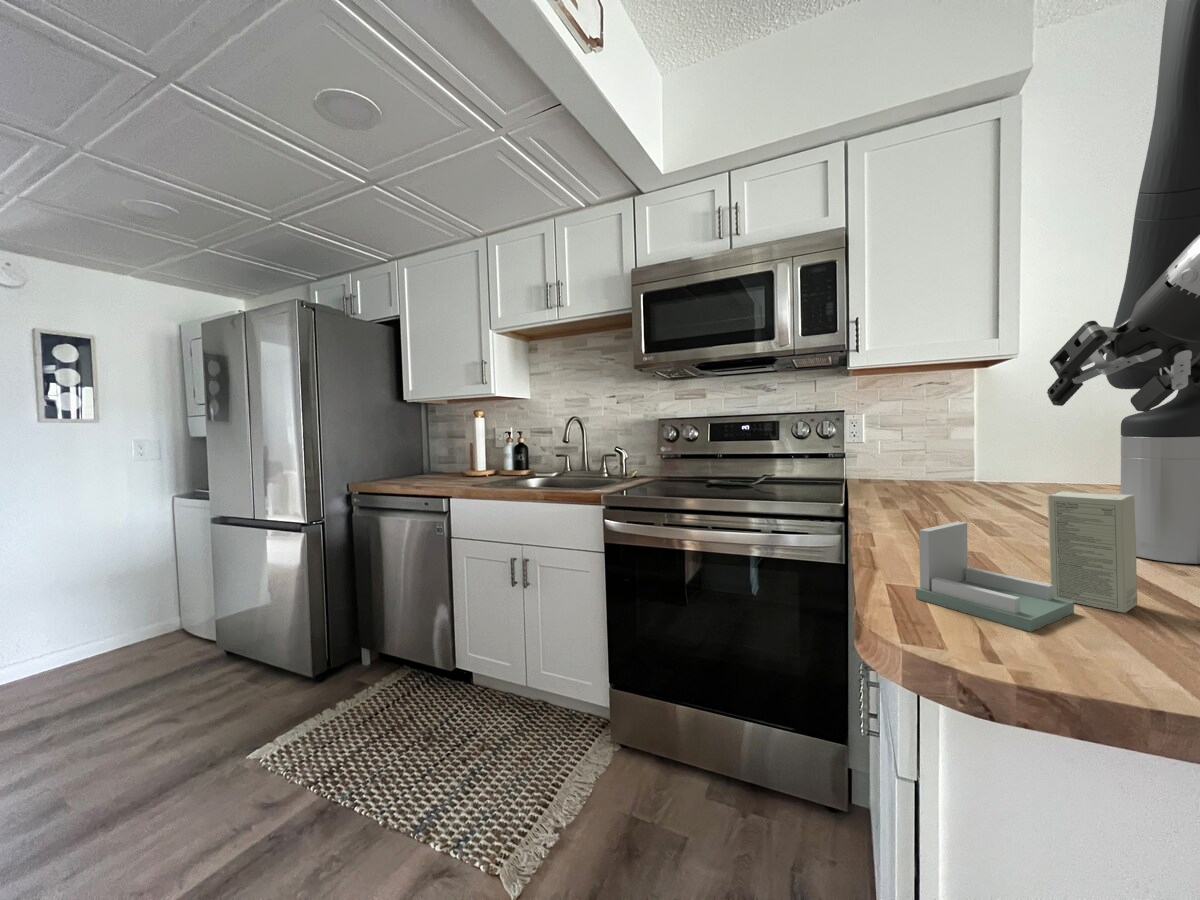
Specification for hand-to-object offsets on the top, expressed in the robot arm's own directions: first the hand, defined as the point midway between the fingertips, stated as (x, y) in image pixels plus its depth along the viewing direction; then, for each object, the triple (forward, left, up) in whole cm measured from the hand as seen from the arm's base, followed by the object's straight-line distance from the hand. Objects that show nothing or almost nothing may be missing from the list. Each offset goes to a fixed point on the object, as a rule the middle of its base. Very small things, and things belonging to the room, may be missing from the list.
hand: (1094, 403), depth 57 cm
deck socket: (+15, -3, -22) cm, 27 cm away
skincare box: (+5, +2, -22) cm, 23 cm away
